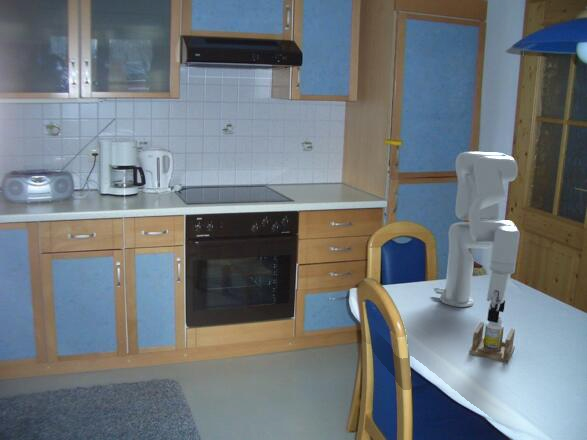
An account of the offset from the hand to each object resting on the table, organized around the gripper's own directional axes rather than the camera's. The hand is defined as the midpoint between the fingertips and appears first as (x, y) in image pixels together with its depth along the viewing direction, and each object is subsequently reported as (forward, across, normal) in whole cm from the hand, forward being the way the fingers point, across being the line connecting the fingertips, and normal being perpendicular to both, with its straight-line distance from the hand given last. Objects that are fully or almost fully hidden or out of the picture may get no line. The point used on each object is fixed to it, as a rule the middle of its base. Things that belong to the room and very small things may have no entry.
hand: (495, 316), depth 204 cm
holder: (+12, +1, +1) cm, 12 cm away
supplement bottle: (+11, +1, 0) cm, 11 cm away
